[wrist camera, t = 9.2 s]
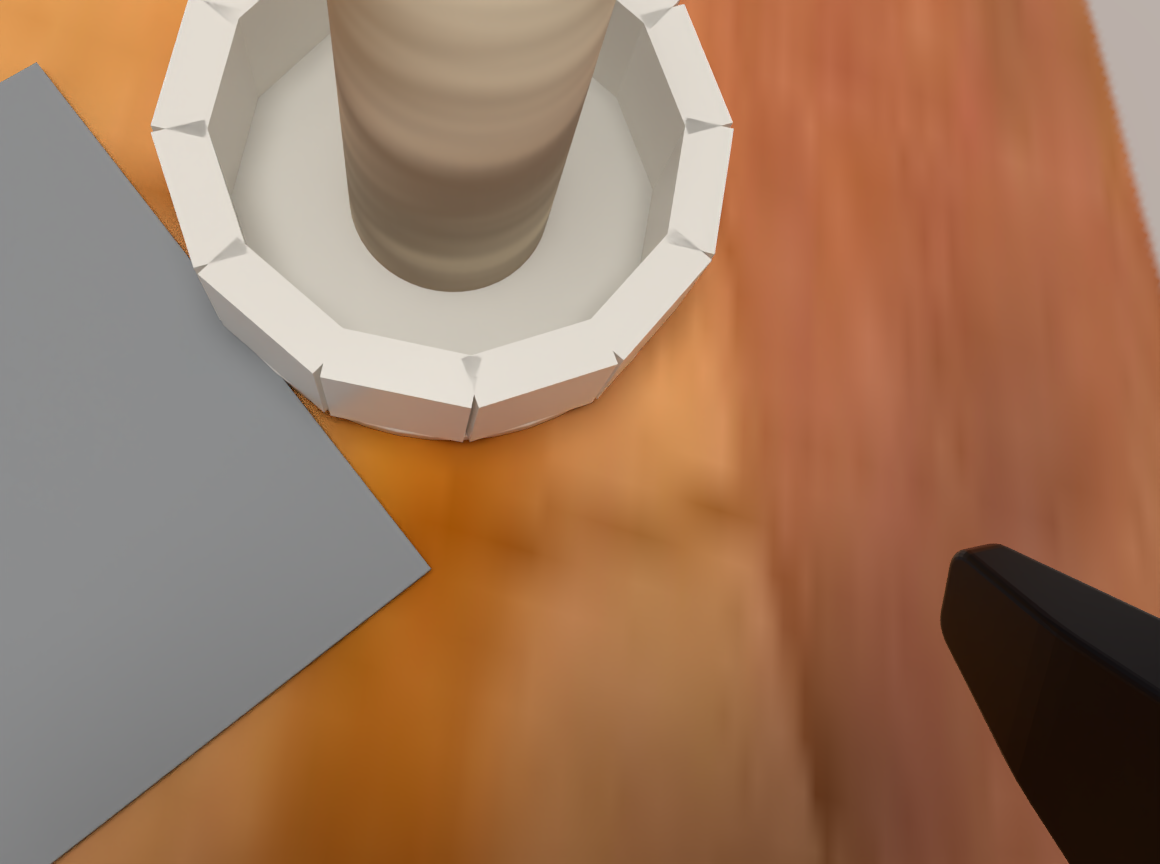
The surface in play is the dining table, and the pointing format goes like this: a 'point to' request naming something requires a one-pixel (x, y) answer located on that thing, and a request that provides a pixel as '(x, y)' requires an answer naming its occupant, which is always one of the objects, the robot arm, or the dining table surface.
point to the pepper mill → (459, 127)
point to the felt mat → (144, 498)
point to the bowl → (406, 311)
